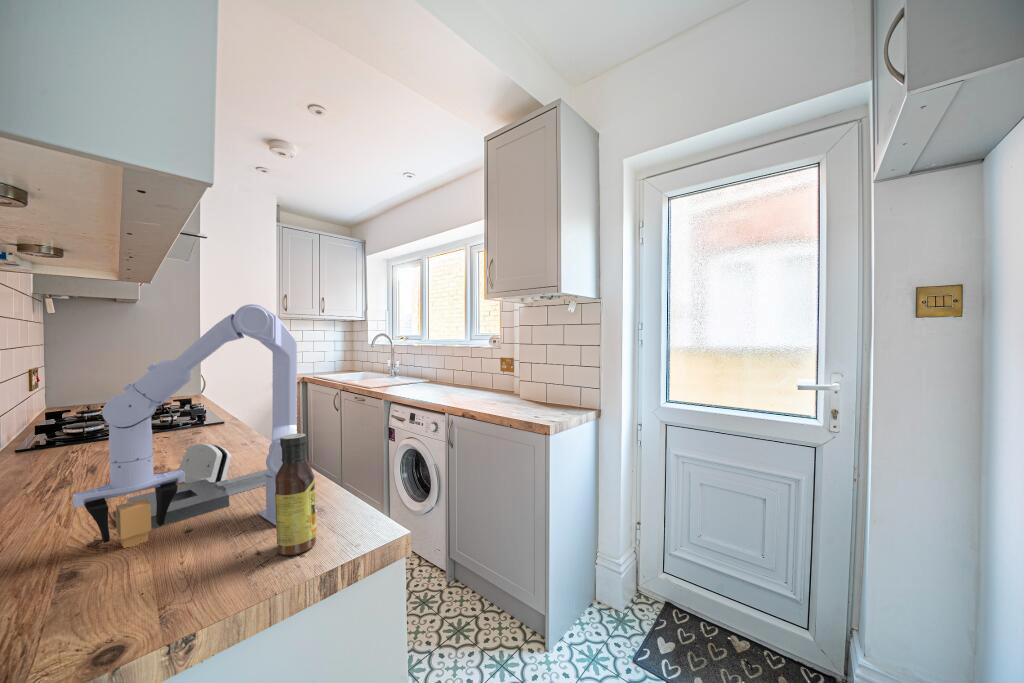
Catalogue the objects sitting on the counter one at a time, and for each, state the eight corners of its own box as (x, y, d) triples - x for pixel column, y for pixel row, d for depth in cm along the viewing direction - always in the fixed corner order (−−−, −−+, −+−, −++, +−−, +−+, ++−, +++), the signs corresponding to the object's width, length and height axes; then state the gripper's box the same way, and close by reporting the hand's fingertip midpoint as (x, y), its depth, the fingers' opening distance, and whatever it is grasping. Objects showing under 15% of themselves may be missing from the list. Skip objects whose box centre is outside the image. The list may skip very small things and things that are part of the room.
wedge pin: (151, 541, 73) (150, 503, 73) (121, 550, 70) (120, 511, 69) (146, 534, 75) (145, 498, 75) (117, 543, 72) (115, 505, 72)
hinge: (169, 478, 105) (184, 439, 108) (189, 478, 109) (202, 441, 112) (203, 488, 98) (217, 447, 100) (223, 488, 101) (236, 448, 104)
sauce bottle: (321, 547, 70) (319, 436, 69) (282, 562, 66) (279, 443, 65) (310, 534, 75) (308, 429, 74) (272, 546, 70) (269, 435, 70)
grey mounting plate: (286, 488, 97) (286, 476, 97) (137, 533, 76) (136, 518, 76) (260, 474, 107) (259, 463, 107) (120, 511, 85) (120, 497, 85)
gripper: (176, 445, 80) (178, 511, 80) (69, 464, 69) (72, 542, 69) (187, 451, 76) (188, 521, 76) (74, 473, 64) (77, 555, 65)
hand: (134, 532), depth 72 cm, fingers open, 7 cm apart
